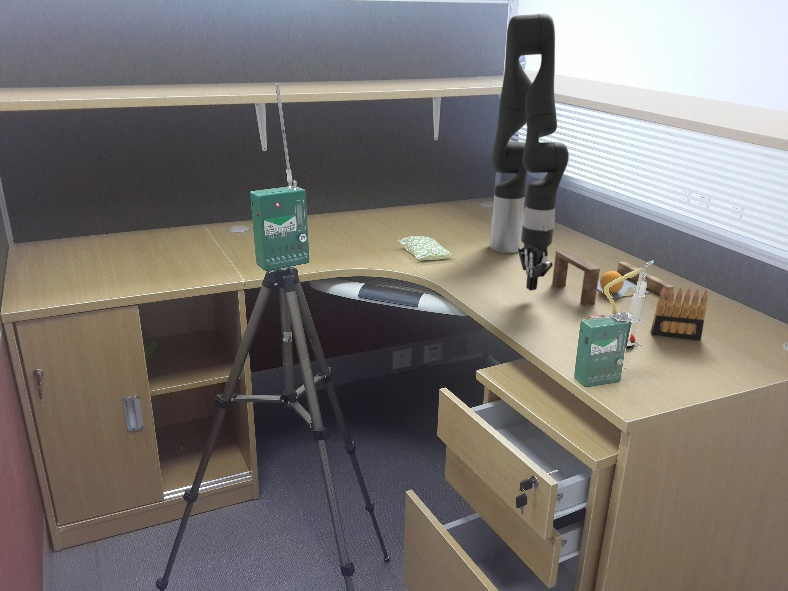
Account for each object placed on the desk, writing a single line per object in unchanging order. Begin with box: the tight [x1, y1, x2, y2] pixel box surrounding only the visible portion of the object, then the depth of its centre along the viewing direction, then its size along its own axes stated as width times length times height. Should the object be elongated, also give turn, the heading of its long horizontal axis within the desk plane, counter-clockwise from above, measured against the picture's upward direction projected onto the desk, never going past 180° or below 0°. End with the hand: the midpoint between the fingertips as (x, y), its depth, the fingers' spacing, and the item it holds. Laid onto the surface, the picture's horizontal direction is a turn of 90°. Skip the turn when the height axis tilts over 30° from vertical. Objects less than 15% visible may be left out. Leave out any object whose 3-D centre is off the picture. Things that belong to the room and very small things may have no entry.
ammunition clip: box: [650, 286, 708, 341], centre depth 150 cm, size 11×2×12 cm, turn 77°
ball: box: [599, 270, 624, 294], centre depth 175 cm, size 6×6×6 cm
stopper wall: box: [616, 261, 675, 299], centre depth 182 cm, size 20×2×3 cm, turn 21°
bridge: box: [551, 249, 601, 306], centre depth 173 cm, size 3×15×10 cm, turn 20°
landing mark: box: [597, 279, 650, 300], centre depth 179 cm, size 12×12×1 cm
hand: (531, 289), depth 169 cm, fingers closed
